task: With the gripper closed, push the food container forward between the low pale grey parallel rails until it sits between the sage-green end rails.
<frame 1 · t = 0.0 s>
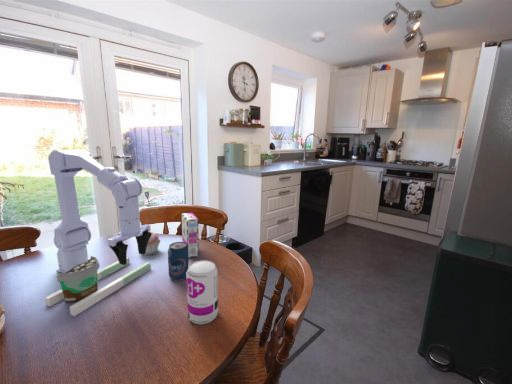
hand: (132, 258, 81), 10 cm above the table, tool pointing down, fingers open, 7 cm apart
candy bar box: (190, 252, 109), on the table
cupcake: (149, 252, 109), on the table
parallel rails: (105, 284, 84), on the table
supplement can: (203, 316, 71), on the table
food container: (87, 295, 78), on the table
soda can: (179, 276, 90), on the table
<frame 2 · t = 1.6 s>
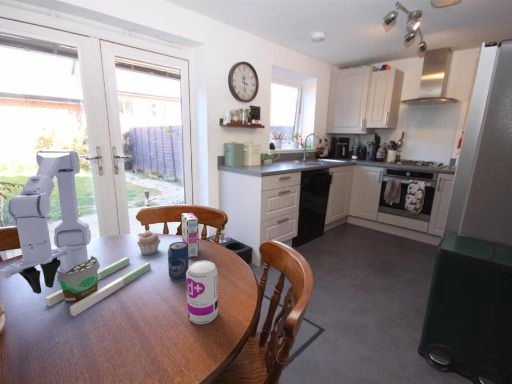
hand: (43, 289, 67), 8 cm above the table, tool pointing down, fingers closed
nothing on the table moved.
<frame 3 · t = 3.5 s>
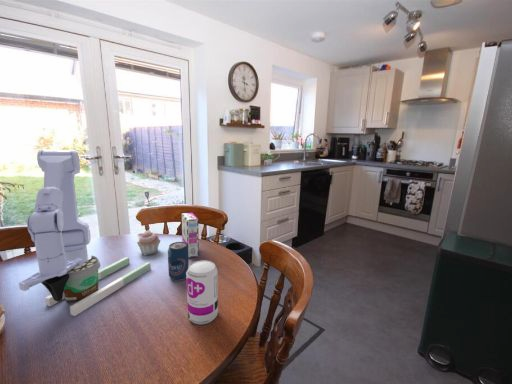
hand: (58, 299, 70), 3 cm above the table, tool pointing down, fingers closed
food container: (88, 294, 79), on the table, touching gripper
everything else where it was.
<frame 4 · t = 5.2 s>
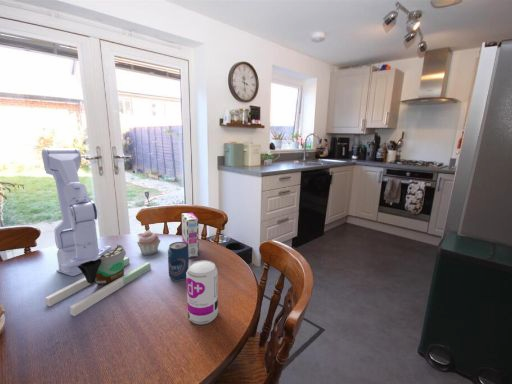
hand: (91, 282, 79), 3 cm above the table, tool pointing down, fingers closed
food container: (115, 279, 88), on the table, touching gripper
everything else where it was.
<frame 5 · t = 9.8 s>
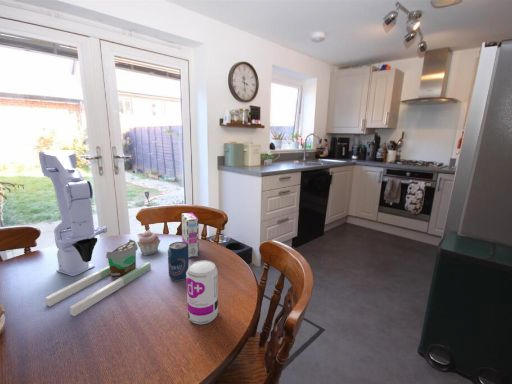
hand: (86, 260, 80), 9 cm above the table, tool pointing down, fingers closed
food container: (128, 272, 92), on the table
everything else where it was.
at the end: food container inside the target area (0.8 cm from its centre), on the table; food container tilted 0°; food container moved 15.3 cm from its start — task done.
